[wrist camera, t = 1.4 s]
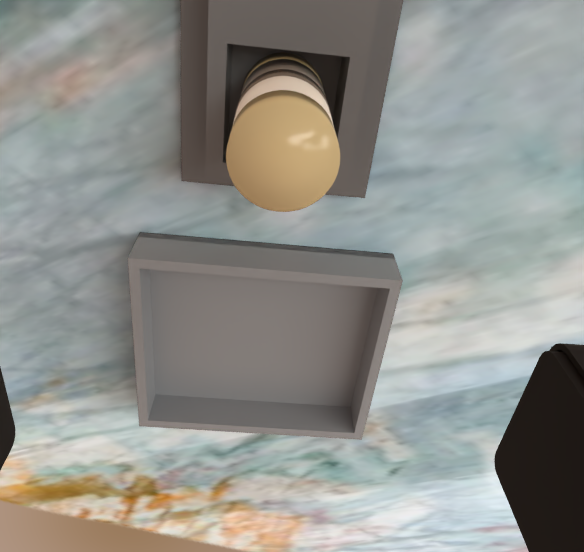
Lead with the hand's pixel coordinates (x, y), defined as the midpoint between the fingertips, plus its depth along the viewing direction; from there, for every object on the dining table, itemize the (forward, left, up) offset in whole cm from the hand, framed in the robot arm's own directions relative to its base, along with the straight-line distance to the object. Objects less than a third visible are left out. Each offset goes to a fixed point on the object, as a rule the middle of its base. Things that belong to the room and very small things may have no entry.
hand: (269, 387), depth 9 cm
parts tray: (0, +15, -21) cm, 26 cm away
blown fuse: (0, 0, -20) cm, 20 cm away
